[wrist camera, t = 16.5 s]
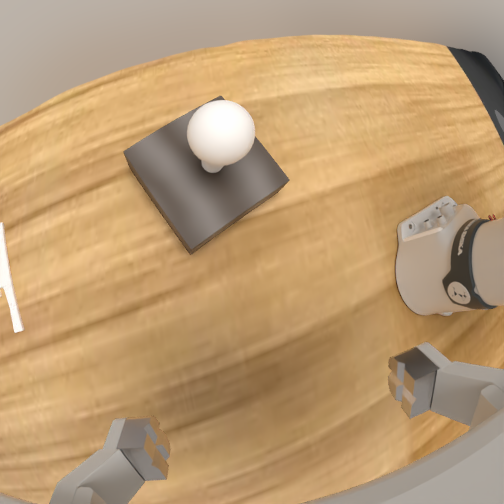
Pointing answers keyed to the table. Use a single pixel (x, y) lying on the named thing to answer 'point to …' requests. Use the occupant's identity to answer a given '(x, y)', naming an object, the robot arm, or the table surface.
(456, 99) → the table surface
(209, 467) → the table surface
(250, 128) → the lightbulb
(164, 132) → the charcoal block
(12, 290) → the white plastic blade
